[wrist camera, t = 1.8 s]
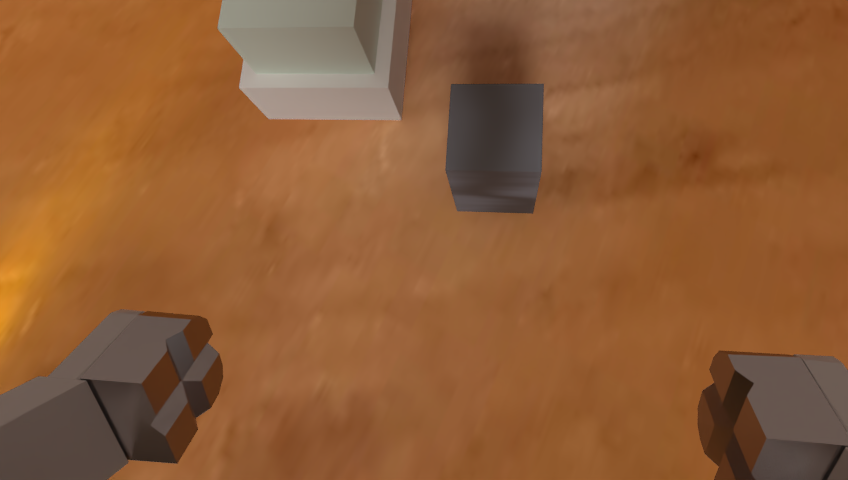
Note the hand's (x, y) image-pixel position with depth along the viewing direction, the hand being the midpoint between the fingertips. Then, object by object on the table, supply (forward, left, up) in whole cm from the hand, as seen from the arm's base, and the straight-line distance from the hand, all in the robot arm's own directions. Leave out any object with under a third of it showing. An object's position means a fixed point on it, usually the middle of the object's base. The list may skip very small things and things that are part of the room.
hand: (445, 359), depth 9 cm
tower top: (+12, -21, -21) cm, 33 cm away
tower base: (+12, -21, -26) cm, 36 cm away
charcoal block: (0, -12, -26) cm, 29 cm away
